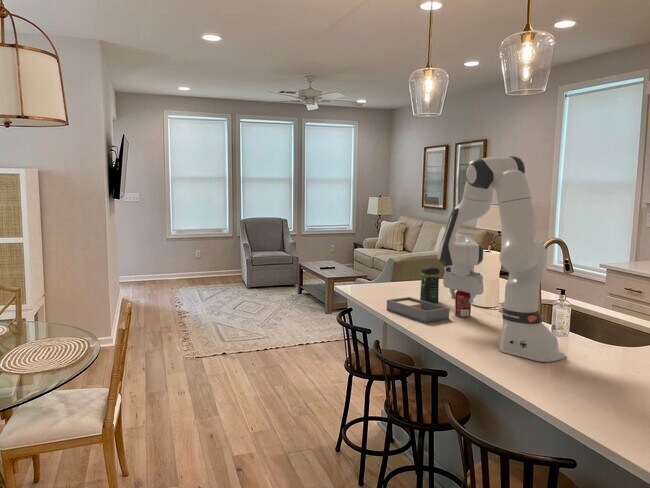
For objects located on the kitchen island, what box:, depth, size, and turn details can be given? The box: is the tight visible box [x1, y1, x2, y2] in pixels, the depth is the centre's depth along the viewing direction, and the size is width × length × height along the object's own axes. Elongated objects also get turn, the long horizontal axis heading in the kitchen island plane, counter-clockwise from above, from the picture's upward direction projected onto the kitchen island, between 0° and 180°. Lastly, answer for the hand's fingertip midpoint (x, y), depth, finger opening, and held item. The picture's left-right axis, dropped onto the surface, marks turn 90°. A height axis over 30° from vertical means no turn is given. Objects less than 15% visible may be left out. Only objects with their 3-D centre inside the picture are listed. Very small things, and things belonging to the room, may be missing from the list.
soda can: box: [454, 290, 472, 318], centre depth 217 cm, size 7×7×12 cm
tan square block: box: [398, 300, 421, 309], centre depth 224 cm, size 9×9×3 cm
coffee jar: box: [419, 265, 440, 304], centre depth 242 cm, size 10×8×19 cm
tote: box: [386, 296, 450, 324], centre depth 219 cm, size 26×14×5 cm, turn 32°
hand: (461, 300), depth 217 cm, fingers open, 8 cm apart
